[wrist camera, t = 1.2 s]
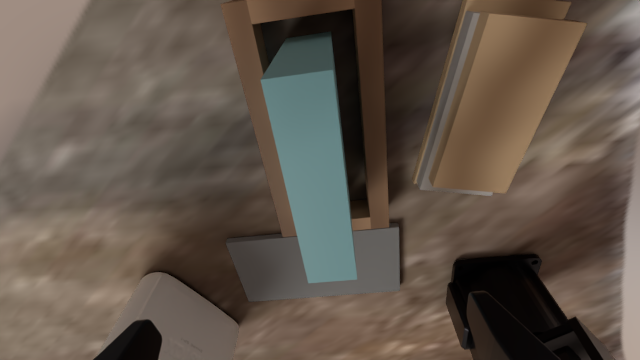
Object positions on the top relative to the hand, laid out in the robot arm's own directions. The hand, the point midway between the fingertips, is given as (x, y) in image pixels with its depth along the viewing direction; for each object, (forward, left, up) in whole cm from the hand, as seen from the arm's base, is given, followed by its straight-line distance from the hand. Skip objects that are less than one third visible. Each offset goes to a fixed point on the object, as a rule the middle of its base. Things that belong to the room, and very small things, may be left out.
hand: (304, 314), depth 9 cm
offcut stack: (-9, 0, -14) cm, 17 cm away
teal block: (0, 0, -13) cm, 13 cm away
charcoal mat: (+2, +12, -13) cm, 18 cm away
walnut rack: (0, 0, -13) cm, 13 cm away
